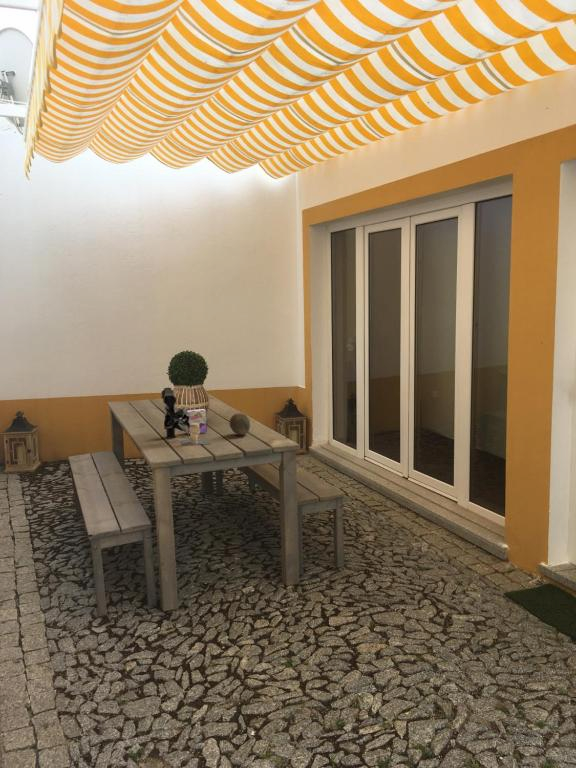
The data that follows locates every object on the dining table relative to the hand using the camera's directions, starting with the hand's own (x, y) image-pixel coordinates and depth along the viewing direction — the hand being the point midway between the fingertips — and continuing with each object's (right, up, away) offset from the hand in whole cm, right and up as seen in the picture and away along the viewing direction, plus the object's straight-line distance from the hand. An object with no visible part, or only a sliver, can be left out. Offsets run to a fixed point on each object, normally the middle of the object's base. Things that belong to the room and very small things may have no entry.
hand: (187, 429), depth 425 cm
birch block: (+6, -8, -2) cm, 10 cm away
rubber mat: (+6, -9, -2) cm, 11 cm away
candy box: (+2, -5, +27) cm, 27 cm away
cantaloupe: (+34, -5, +18) cm, 39 cm away
